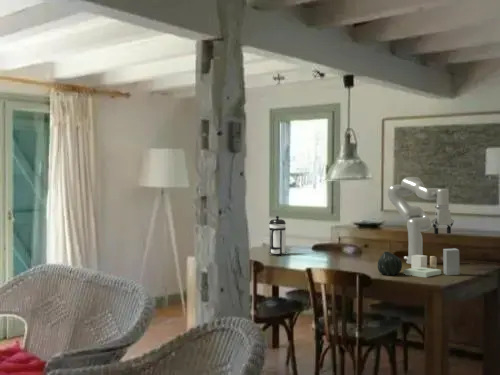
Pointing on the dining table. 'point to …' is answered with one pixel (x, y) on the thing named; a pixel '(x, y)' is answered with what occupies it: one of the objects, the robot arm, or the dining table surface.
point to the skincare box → (451, 261)
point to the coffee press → (277, 236)
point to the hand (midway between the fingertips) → (442, 233)
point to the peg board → (422, 272)
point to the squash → (389, 264)
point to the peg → (433, 262)
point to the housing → (418, 261)
